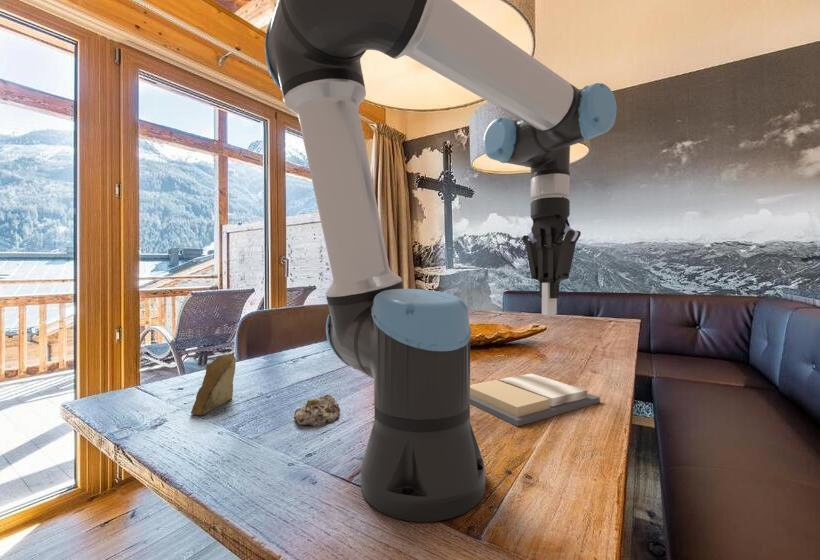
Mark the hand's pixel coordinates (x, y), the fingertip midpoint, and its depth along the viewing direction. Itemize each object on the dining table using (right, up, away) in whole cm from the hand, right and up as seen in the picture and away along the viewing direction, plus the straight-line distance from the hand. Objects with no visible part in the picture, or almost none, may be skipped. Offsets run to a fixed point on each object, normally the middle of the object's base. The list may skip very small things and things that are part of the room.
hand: (549, 314), depth 77 cm
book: (-2, -16, -1) cm, 16 cm away
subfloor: (-5, -17, -3) cm, 18 cm away
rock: (-68, -18, -3) cm, 70 cm away
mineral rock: (-45, -18, -9) cm, 50 cm away
